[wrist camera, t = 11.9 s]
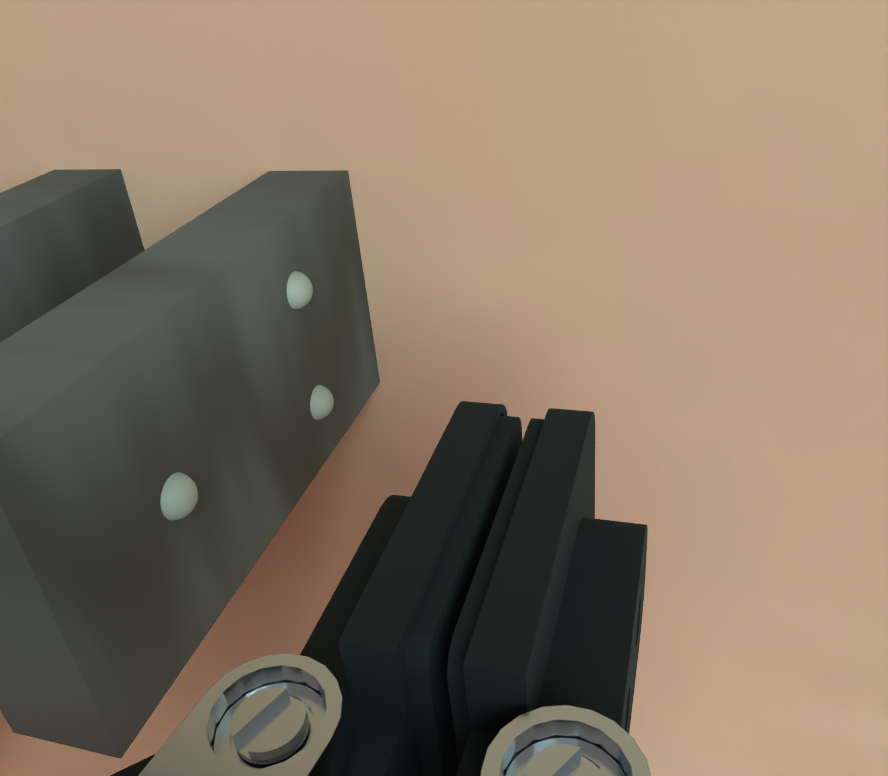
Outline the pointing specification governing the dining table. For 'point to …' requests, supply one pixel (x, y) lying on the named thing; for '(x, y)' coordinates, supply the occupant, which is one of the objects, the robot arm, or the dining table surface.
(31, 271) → the tile
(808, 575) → the dining table surface
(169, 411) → the tile
